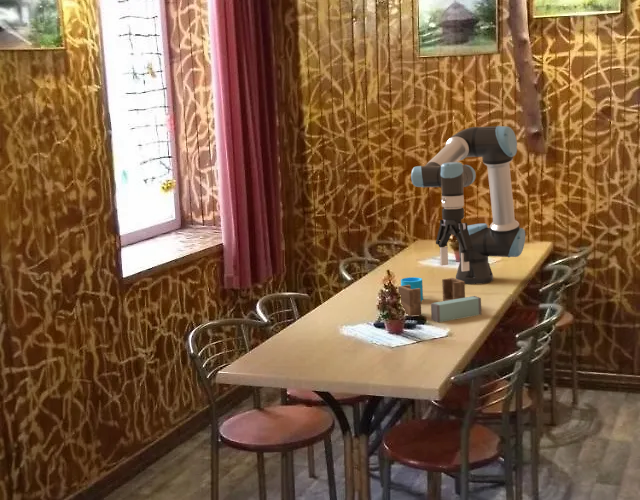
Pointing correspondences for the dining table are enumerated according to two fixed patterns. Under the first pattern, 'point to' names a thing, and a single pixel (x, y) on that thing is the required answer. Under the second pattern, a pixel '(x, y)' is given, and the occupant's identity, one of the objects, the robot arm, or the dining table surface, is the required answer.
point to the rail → (456, 309)
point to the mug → (413, 283)
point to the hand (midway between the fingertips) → (454, 268)
